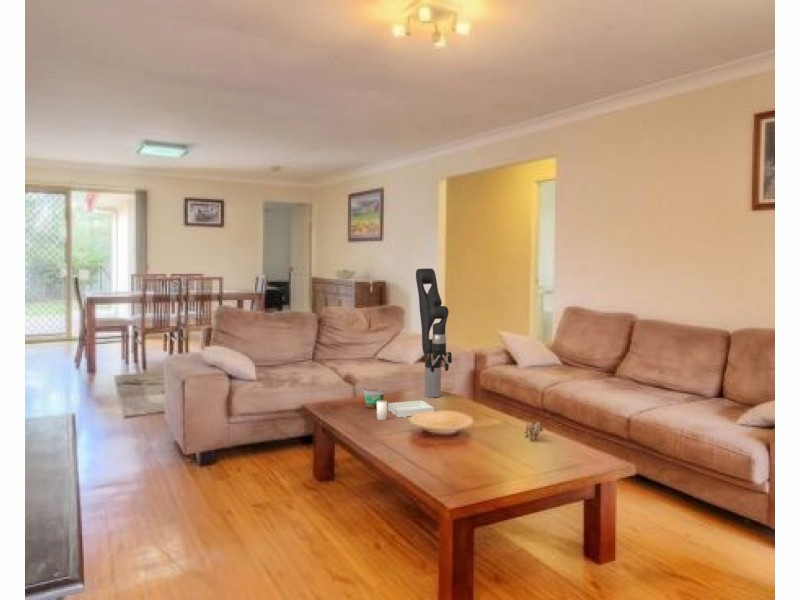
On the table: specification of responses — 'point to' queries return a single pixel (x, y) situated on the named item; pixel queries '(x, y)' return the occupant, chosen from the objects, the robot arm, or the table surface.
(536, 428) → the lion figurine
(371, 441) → the table surface
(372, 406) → the food container
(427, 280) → the robot arm
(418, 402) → the tray
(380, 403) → the cup
